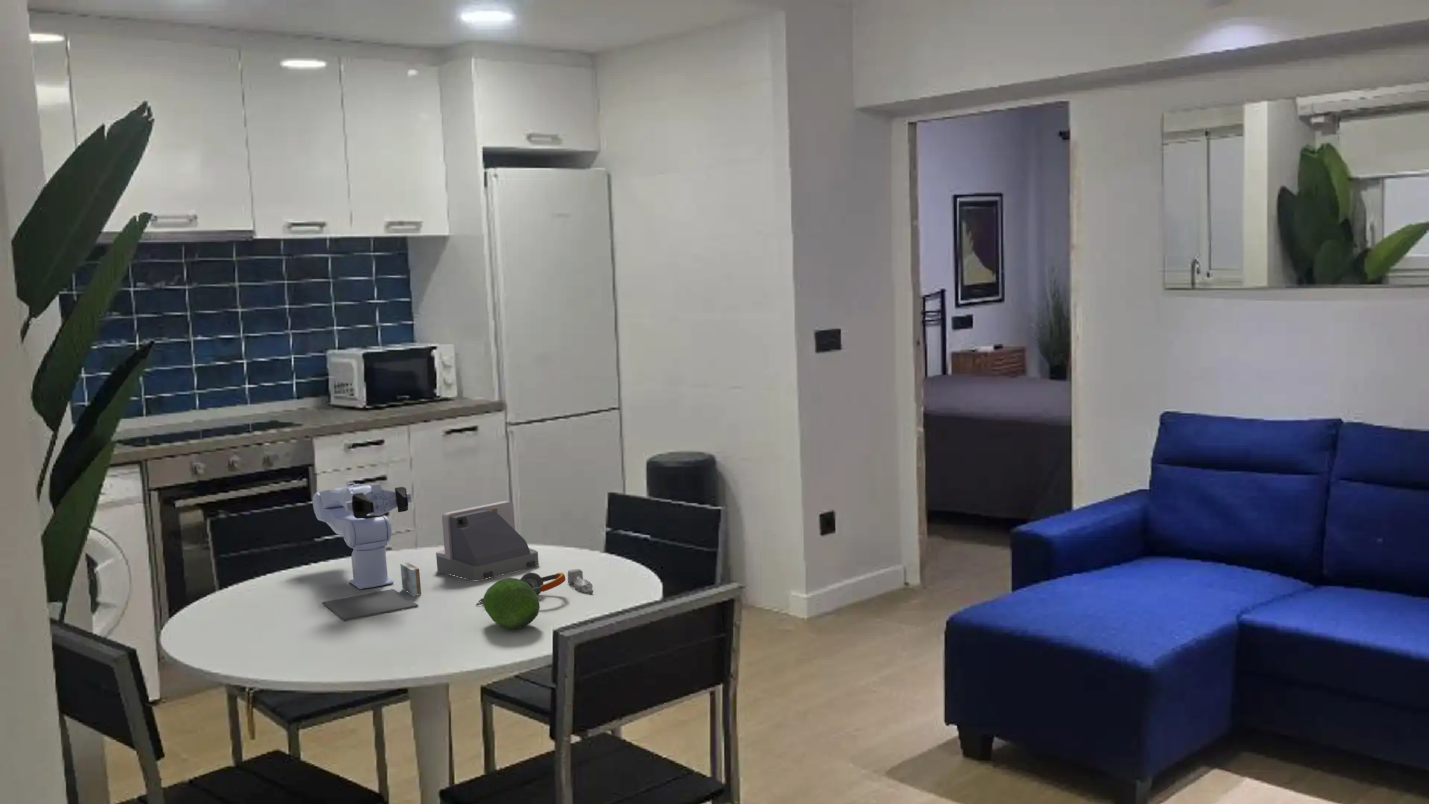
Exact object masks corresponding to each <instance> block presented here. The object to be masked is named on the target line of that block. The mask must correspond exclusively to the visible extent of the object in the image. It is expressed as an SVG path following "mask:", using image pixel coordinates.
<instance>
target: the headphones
mask: <svg viewBox="0 0 1429 804" xmlns="http://www.w3.org/2000/svg"><path fill="white" fill-rule="evenodd" d="M565 575H566V574H565V573H564V572H557V573H556V574H551V575H546V576H542V577H541V576H540V575H539V574H538V573H537V572H527V573H525V574H523V576H521V578H518V579H519V580H522V581H524V582H527V583H528V584H529V585H530V586H531V587H532V588H533V590H534V591H535V593H536V594H537V596H539V595H540V594H541V592H543V593H544V592H546V591H549V590H552V589H554V588H556V587H558V586H560V585H562V584H563V583H564V582H566V576H565ZM544 582H547V583H544ZM483 599H484V597H483V598H480V599H479V601H481V602H479V601H478V602H477V603H476V604H475V606H480V605H481V607H483V608H484V606H483Z"/></svg>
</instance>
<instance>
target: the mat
mask: <svg viewBox="0 0 1429 804" xmlns="http://www.w3.org/2000/svg"><path fill="white" fill-rule="evenodd" d="M322 604H323V605H324V606H325V607H326V608H327V609H329V610H330V611H331V612H332V613H334V614H335V615H336V616H338V617H339V618H340V619H341V620H342V621H344V622H346V621H351V620H355V619H360V618H361V619H362V618H366V617H372V616H378V615H383V614H387V613H388V614H389V613H392V612H397V611H398V610H399V611H403V610H402V609H404V610H408V609H413V607H414V608H418V607H419V604H418V603H416V602H415V601H413V600H411V599H410V598H408V597H407V596H405V595H403V594H402V593H401V592H399V591H397V590H396V589H394V588H390V589H385V590H380V591H379V590H378V591H375V592H369V593H364V594H363V593H362V594H358V595H353V596H347V597H342V598H336V599H335V598H334V599H331V600H325V601H322ZM417 606H418V607H417Z"/></svg>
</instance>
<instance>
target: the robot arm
mask: <svg viewBox="0 0 1429 804" xmlns="http://www.w3.org/2000/svg"><path fill="white" fill-rule="evenodd" d="M410 503H412V494H411V492H407V488H406V487H405V486H398V487H394V491H393V490H388V489H384V488H382V485H381V484H379V483H376V484H372V483H371V484H368V485H362V486H361V485H360V483H355V482H349V483H346V485H345V486H343V487H336V488H331V489H325V490H322V491H321V490H320V491H319V492H318V491H316V492H315V493H314V494H313V495H312V508H313V513H314V514H315V517H316V519H317V520H318V521H320V522H323V523H326V524H327V525H328V526H329V527H330V528H331V530H332V531H333V532H334V533H335V534H336V535H339V536H342V537H343V541H344V542H345V544H346V545H347V546H348V548H350V549H353V551H352V552H351V566H352V567H351V568H352V577H353V578H352V579H349V581H348V582H349V583H350V584H352V585H353V586H354V587H356V588H357V589H359V590H364V588H365V589H369V588H371V589H372V588H376V587H380V586H386V585H391V584H394V581H393V580H392V579H390V578H389V575H388V565H387V553H386V546H388V543H389V542H390V541H391V539H392V536H393V535H392V534H393V533H392V524H391V522H390V519H389V518H388V517H387V516H386V515H385V514H387V513H389V512H390V511H392V510H394V509H396V508H397V513H403V512H407V511H408V510H409V504H410ZM368 515H371V516H377V517H369V518H366V517H367V516H368Z"/></svg>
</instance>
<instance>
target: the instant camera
mask: <svg viewBox="0 0 1429 804" xmlns="http://www.w3.org/2000/svg"><path fill="white" fill-rule="evenodd" d="M441 521H442V533H443V536H442V537H443V546H444V548H443V549H441V550H438V551H436V552H435V557H436V569H437V572H438V571H439V572H438V573H440V572H443V573H442V574H444V573H446V574H445V575H448V574H451V575H450V576H452V575H455V576H454V577H456V576H458V577H457V578H459V577H462V578H461V579H463V578H466V579H465V580H467V579H468V581H471V580H479V581H484V580H487V579H486V578H488V579H490V578H489V577H492V578H495V577H500V576H503V575H502V574H504V575H508V574H512V573H515V571H516V572H519V571H520V572H521V571H524V569H525V570H528V569H527V568H529V569H533V568H535V567H538V566H539V565H540V563H539V551H537V550H536V549H533V548H530V547H529V544H528V543H527V541H526V540H525V538H524V537H523V536H522V535H520V534H519V532H517V530H516V526H515V525H516V524H515V511H514V504H513V502H512V501H508V500H503V501H502V500H501V501H497V502H493V503H492V502H491V503H487V504H482V505H477V506H472V507H467V508H463V509H458V510H457V509H456V510H452V511H449V512H448V511H447V512H444V513H443V514H442V515H441ZM537 565H538V566H537ZM532 567H533V568H532ZM499 575H500V576H499Z"/></svg>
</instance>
